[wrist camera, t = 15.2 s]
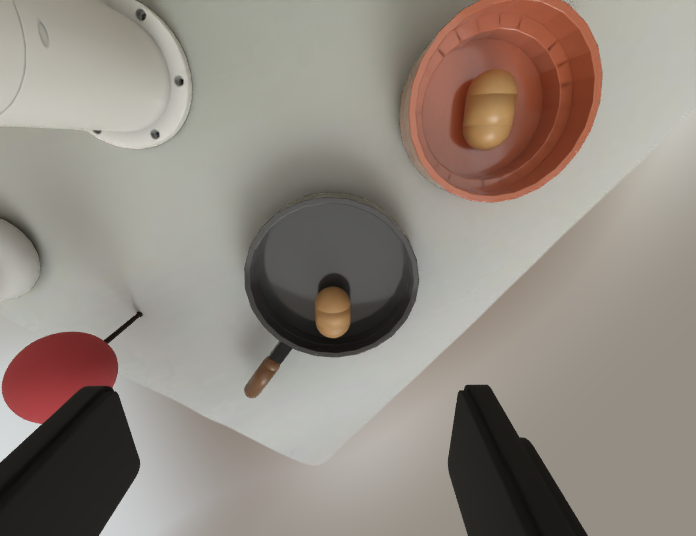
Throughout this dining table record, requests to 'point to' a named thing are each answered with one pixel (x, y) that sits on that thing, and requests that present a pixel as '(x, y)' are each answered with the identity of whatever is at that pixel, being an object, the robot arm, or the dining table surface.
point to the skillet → (331, 272)
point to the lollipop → (58, 371)
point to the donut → (16, 262)
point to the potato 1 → (332, 312)
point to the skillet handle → (266, 370)
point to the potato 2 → (489, 109)
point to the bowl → (531, 105)
